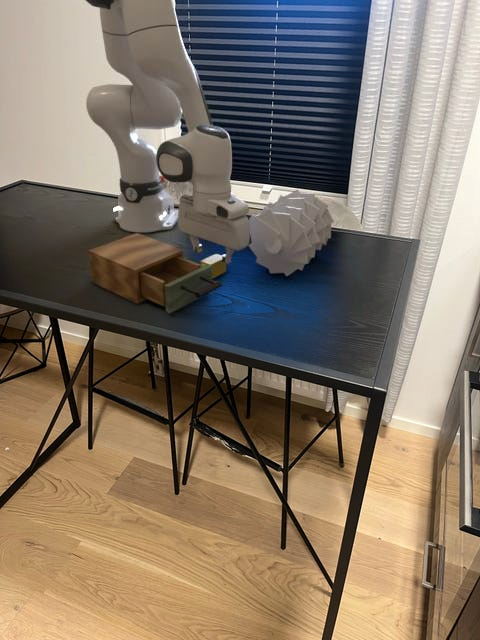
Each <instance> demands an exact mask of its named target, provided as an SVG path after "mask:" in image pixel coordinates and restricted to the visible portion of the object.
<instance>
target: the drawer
mask: <svg viewBox="0 0 480 640" xmlns="http://www.w3.org/2000/svg"><path fill="white" fill-rule="evenodd" d="M138 276H139V288H140V296H142V297H144V298H146V299H147V300H149V301H151V302H153V303H155V304H157V305H160V306H162V307H165V312H166V313H167V314H172V313H174V312H175V311H177V310H179V309H181V308H183V307H185V306H186V305H188V304H190V303H193V302H194V301H196V300H198V299H201V298H202V297H204V296H206V295H208V294H210V293H212V292H214V291H216V290H218V289H219V288H221V287H222V285H223V284H222V282H221V280H217V281H215V280H213V279H212V266H211V265H206V266H204V267H201V265H200V263H197V262H195V261H192V260H189V259H187V258H184V257H183V258H182V257H179V256H176V257H173V258H171V259H169V260H166V261H164V262H162V263H159V264H157V265H155V266H152V267H150V268H148V269H145V270H143V271H141V272H138Z"/></svg>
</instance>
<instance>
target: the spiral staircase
mask: <svg viewBox="0 0 480 640" xmlns="http://www.w3.org/2000/svg"><path fill="white" fill-rule="evenodd" d="M329 206H330V205H329V204H328V203H326V202H325V201H323V200H321V199H320V198H318V197H317V196H316V193H314V192H300V191H299V189H298V188H297V189H295V190H294V191H292V192H289V194H286V195H282V194H280V195H279V197H278V199H277V201H276V202H274V203H272V202H271V201H269V202H268V205H267V206H266V205H265V206H264V207H263V208H262V209H261V211H260V213H259V214H258V215H255V214H253V213H252V214H251V216H250V217H249V218H248V220H249V226H250V241H251V242H250V243H249V244H248V246H247V247H248V248H249V249H250V250H251V251H252V253H253V254H254V255H255V257H256V259H255V263H256V264H258V265H261V266H262V267H264V268H266V269H268V271H269V274H284V275H285V277H288V276H290V275H292V274H293V273H294V272H295V271H297V270H300V271H303V270H304V267H305V265H308V264H309V263H310V262H311V261H312V258H313V259H314V258H315V256H316V250H318V251H322V247H323V245H324V246H327V243H328V240H329V239H331V238H332V224H333V223H335V221H334V218H333V217H332V214H331V212H330V210H329V209H328V208H329Z"/></svg>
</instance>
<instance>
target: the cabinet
mask: <svg viewBox="0 0 480 640" xmlns="http://www.w3.org/2000/svg"><path fill="white" fill-rule="evenodd" d="M176 256H179V257H182V258H184V250H183V248H182V249H181V248H179V247H177V246H174V245H171V244H169V243H166V242H163V241H160V240H157V239H154V238H153V237H149V236H146V235H144V234H142V233H139V232H135V233H134V234H130V235H128V236H125V237H122V238H120V239H116V240H114V241H111V242H108V243H105V244H103V245H100V246H97V247H93V248H92V249H91V248H90V249H89V250H88V257H89V263H90V264H89V265H90V272H91V278H92V283H93V284H95V285H98V286H99V287H101V288H103V289H106V290H107V291H110V292H111V293H114V294H116V295H117V296H120V297H123V298H124V299H127V300H128V301H131V302H133V303H134V304H137V305H139V304H141V303H144V302H146V301H147V300H148V299H146V298H144V297H142V296H140V288H139V276H138V272H141V271H143V270H145V269H148V268H150V267H152V266H155V265H157V264H159V263H162V262H164V261H166V260H169V259H171V258H173V257H176Z"/></svg>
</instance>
